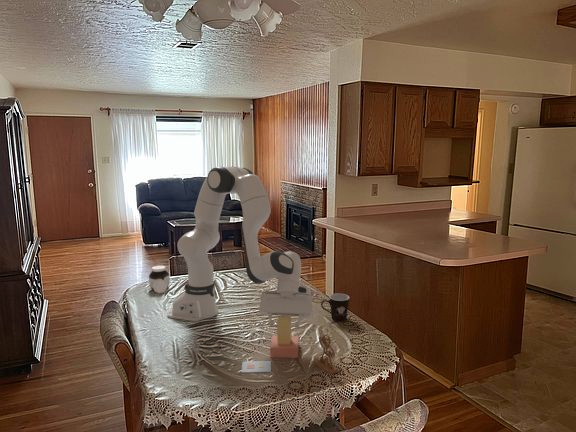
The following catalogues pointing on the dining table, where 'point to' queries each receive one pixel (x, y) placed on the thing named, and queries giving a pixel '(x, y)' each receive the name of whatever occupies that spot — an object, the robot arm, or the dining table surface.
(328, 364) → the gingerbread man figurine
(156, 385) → the dining table surface
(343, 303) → the coffee mug
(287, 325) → the ochre brick
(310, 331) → the dining table surface
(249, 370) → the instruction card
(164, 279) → the spread jar
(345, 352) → the dining table surface
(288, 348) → the base brick
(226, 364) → the dining table surface
